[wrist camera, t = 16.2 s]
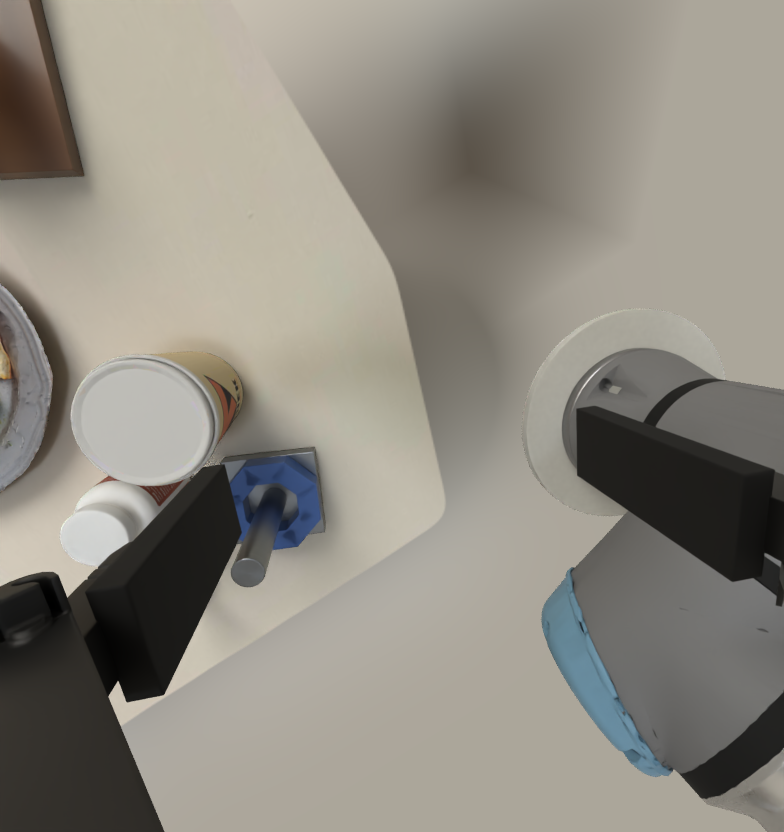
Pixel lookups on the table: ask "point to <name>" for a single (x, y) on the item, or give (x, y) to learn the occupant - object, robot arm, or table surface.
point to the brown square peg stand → (32, 99)
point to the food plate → (21, 390)
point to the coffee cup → (155, 414)
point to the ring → (289, 477)
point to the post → (267, 515)
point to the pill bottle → (112, 517)
